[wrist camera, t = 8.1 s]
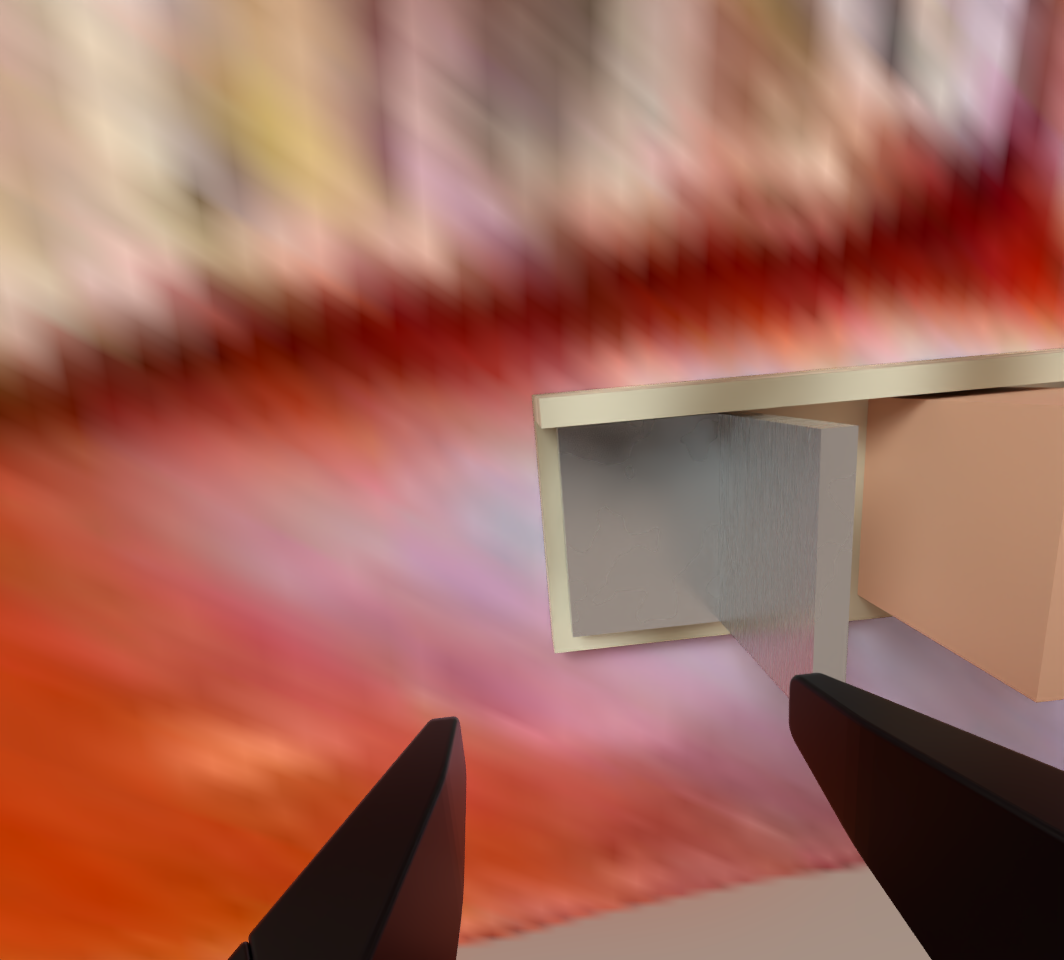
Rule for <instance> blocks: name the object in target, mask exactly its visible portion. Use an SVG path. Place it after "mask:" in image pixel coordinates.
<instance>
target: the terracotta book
mask: <svg viewBox="0 0 1064 960" xmlns="http://www.w3.org/2000/svg"><path fill="white" fill-rule="evenodd" d="M857 595H859V596H861V597H862V598H864V599H865V600H867V601H869V602H870V603H872V604H874V605H875V606H877V607H879V608H880V609H882V610H884V611H885V612H887V613H889V614H890V615H892V616H894V617H895V618H897V619H899V620H900V621H902V622H904V623H905V624H907V625H909V626H910V627H912V628H914V629H915V630H917V631H919V632H920V633H922V634H923V635H925V636H927V637H928V638H930V639H932V640H933V641H935V642H937V643H938V644H940V645H942V646H943V647H945V648H947V649H948V650H950V651H952V652H953V653H955V654H957V655H958V656H960V657H962V658H963V659H965V660H967V661H968V662H970V663H972V664H973V665H975V666H976V667H978V668H980V669H981V670H983V671H985V672H986V673H988V674H990V675H991V676H993V677H995V678H996V679H998V680H1000V681H1001V682H1003V683H1005V684H1006V685H1008V686H1010V687H1011V688H1013V689H1015V690H1016V691H1018V692H1020V693H1021V694H1023V695H1025V696H1026V697H1028V698H1029V699H1031V700H1033V701H1034V702H1044V701H1053V700H1062V699H1064V388H1045V387H994V388H983V389H972V390H961V391H950V392H939V393H928V394H917V395H906V396H895V397H884V398H873V399H868V416H867V434H866V451H865V469H864V487H863V504H862V522H861V540H860V557H859V575H858V593H857Z"/></svg>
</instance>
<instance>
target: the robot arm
mask: <svg viewBox="0 0 1064 960" xmlns="http://www.w3.org/2000/svg"><path fill="white" fill-rule="evenodd" d="M789 727H790V731H791V734H792V737H793V739H794V741H795V743H796V745H797V747H798V748H799V750H800V752H801V754H802V755H803V757H804V759H805V761H806V762H807V764H808V766H809V768H810V769H811V771H812V773H813V775H814V777H815V778H816V780H817V782H818V784H819V785H820V787H821V789H822V791H823V792H824V794H825V796H826V798H827V800H828V801H829V803H830V805H831V807H832V808H833V810H834V812H835V814H836V815H837V817H838V819H839V821H840V823H841V824H842V826H843V828H844V829H845V831H846V833H847V834H848V836H849V838H850V839H851V841H852V843H853V844H854V846H855V848H856V849H857V851H858V852H859V854H860V855H861V857H862V858H863V860H864V861H865V863H866V864H867V866H868V867H869V869H870V870H871V872H872V873H873V875H874V876H875V877H876V879H877V880H878V882H879V883H880V885H881V886H882V888H883V889H884V891H885V892H886V894H887V895H888V896H889V898H890V899H891V901H892V902H893V904H894V905H895V907H896V908H897V910H898V911H899V912H900V914H901V915H902V917H903V918H904V920H905V921H906V923H907V924H908V926H909V927H910V929H911V930H912V932H913V933H914V935H915V936H916V937H917V939H918V940H919V942H920V943H921V945H922V946H923V947H924V949H925V951H926V952H927V953H928V955H929V956H930V958H931V959H932V960H1064V771H1062V770H1060V769H1057V768H1055V767H1053V766H1050V765H1048V764H1045V763H1043V762H1040V761H1038V760H1035V759H1033V758H1030V757H1028V756H1025V755H1023V754H1020V753H1018V752H1015V751H1013V750H1010V749H1008V748H1005V747H1003V746H1001V745H998V744H996V743H993V742H991V741H988V740H986V739H983V738H981V737H978V736H976V735H973V734H971V733H968V732H966V731H963V730H961V729H958V728H956V727H954V726H951V725H949V724H946V723H944V722H941V721H939V720H936V719H934V718H931V717H929V716H926V715H924V714H921V713H919V712H916V711H914V710H911V709H909V708H907V707H904V706H902V705H899V704H897V703H894V702H892V701H889V700H887V699H884V698H882V697H879V696H877V695H874V694H872V693H869V692H867V691H864V690H862V689H860V688H857V687H855V686H852V685H850V684H847V683H845V682H842V681H840V680H837V679H835V678H832V677H830V676H827V675H825V674H822V673H808V674H800V675H795V676H794V677H792V678H791V681H790V686H789ZM465 816H466V765H465V757H464V750H463V742H462V735H461V727H460V722H459V720H458V718H457V717H454V716H453V717H445V718H436V719H432V720H430V721H429V722H428V723H427V724H426V725H425V726H424V728H423V729H422V730H421V731H420V732H419V734H418V735H417V736H416V737H415V738H414V740H413V741H412V742H411V743H410V744H409V745H408V747H407V748H406V749H405V750H404V751H403V753H402V754H401V755H400V756H399V757H398V759H397V760H396V761H395V762H394V763H393V764H392V766H391V767H390V768H389V769H388V770H387V772H386V773H385V774H384V775H383V776H382V777H381V779H380V780H379V781H378V782H377V783H376V785H375V786H374V787H373V788H372V789H371V791H370V792H369V793H368V794H367V795H366V796H365V798H364V799H363V800H362V801H361V802H360V804H359V805H358V806H357V807H356V808H355V810H354V811H353V812H352V813H351V814H350V815H349V817H348V818H347V819H346V820H345V821H344V823H343V824H342V825H341V826H340V827H339V829H338V830H337V831H336V832H335V833H334V834H333V836H332V837H331V838H330V839H329V840H328V842H327V843H326V844H325V845H324V846H323V847H322V849H321V850H320V851H319V852H318V853H317V855H316V856H315V857H314V858H313V859H312V861H311V862H310V863H309V864H308V865H307V866H306V868H305V869H304V870H303V871H302V872H301V874H300V875H299V876H298V877H297V878H296V880H295V881H294V882H293V883H292V884H291V885H290V887H289V888H288V889H287V890H286V891H285V893H284V894H283V895H282V896H281V897H280V899H279V900H278V901H277V902H276V903H275V904H274V906H273V907H272V908H271V909H270V910H269V912H268V913H267V914H266V915H265V916H264V917H263V919H262V920H261V921H260V922H259V923H258V925H257V926H256V927H255V928H254V929H253V931H252V932H251V933H250V935H249V938H248V939H249V943H248V942H243V943H241V944H240V946H239V947H238V948H237V949H236V950H235V951H234V953H233V954H232V955H231V956H230V957H229V959H228V960H456V956H457V948H458V940H459V932H460V924H461V914H462V904H463V889H464V859H465Z"/></svg>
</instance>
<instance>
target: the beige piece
mask: <svg viewBox="0 0 1064 960" xmlns="http://www.w3.org/2000/svg"><path fill="white" fill-rule="evenodd" d="M994 387H1045V388H1064V348H1059V349H1048V350H1036V351H1025V352H1014V353H1002V354H991V355H980V356H968V357H957V358H946V359H934V360H923V361H911V362H900V363H889V364H877V365H866V366H855V367H843V368H832V369H821V370H809V371H798V372H787V373H775V374H764V375H753V376H741V377H730V378H719V379H707V380H696V381H684V382H673V383H662V384H650V385H639V386H628V387H616V388H605V389H594V390H582V391H571V392H560V393H548V394H537V395H532V404H533V416H534V428H535V439H536V451H537V463H538V475H539V487H540V499H541V511H542V523H543V535H544V547H545V559H546V571H547V583H548V595H549V606H550V618H551V630H552V640H553V646H554V651H555V653H562V652H571V651H580V650H589V649H599V648H608V647H617V646H626V645H635V644H644V643H653V642H663V641H672V640H681V639H690V638H699V637H708V636H718V635H727V634H731V633H730V632H729V631H728V630H727V629H726V628H725V627H724V625H723V624H722V623H721V622H720V621H719V622H710V623H701V624H691V625H682V626H673V627H664V628H654V629H645V630H636V631H627V632H617V633H608V634H599V635H590V636H580V637H573V635H572V632H571V623H570V610H569V596H568V583H567V570H566V556H565V543H564V529H563V516H562V503H561V489H560V476H559V463H558V449H557V436H556V427H565V426H576V425H587V424H598V423H609V422H620V421H631V420H642V419H653V418H664V417H675V416H686V415H697V414H708V413H719V412H730V411H747V412H754V413H762V414H770V415H778V416H786V417H794V418H802V419H810V420H818V421H826V422H834V423H842V424H850V425H858V426H859V428H858V447H857V467H856V487H855V506H854V526H853V546H852V565H851V585H850V605H849V621H855V620H864V619H873V618H883V617H892V615H890V614H889V613H887V612H885V611H884V610H882V609H880V608H879V607H877V606H875V605H874V604H872V603H870V602H869V601H867V600H865V599H864V598H862V597H861V596H859V595H857V593H858V575H859V557H860V540H861V522H862V504H863V487H864V469H865V451H866V434H867V416H868V399H873V398H884V397H895V396H906V395H917V394H928V393H939V392H950V391H961V390H972V389H983V388H994Z"/></svg>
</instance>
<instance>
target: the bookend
mask: <svg viewBox="0 0 1064 960" xmlns="http://www.w3.org/2000/svg"><path fill="white" fill-rule="evenodd" d="M858 428H859V426H858V425H850V424H842V423H834V422H826V421H818V420H810V419H802V418H794V417H786V416H778V415H770V414H762V413H754V412H747V411H730V412H719V413H708V414H697V415H686V416H675V417H664V418H653V419H642V420H631V421H620V422H609V423H598V424H587V425H576V426H565V427H556V436H557V449H558V463H559V476H560V489H561V503H562V516H563V529H564V543H565V556H566V570H567V583H568V596H569V610H570V623H571V632H572V635H573V637H580V636H590V635H599V634H608V633H617V632H627V631H636V630H645V629H654V628H664V627H673V626H682V625H691V624H701V623H710V622H719V621H720V622H721V623H722V624H723V625H724V627H725V628H726V629H727V630H728V631H729V632H730V633H731V634H732V635H733V637H734V638H735V639H736V640H737V641H738V642H739V643H740V644H741V645H742V647H743V648H744V649H745V650H746V651H747V652H748V653H749V654H750V655H751V657H752V658H753V659H754V660H755V661H756V662H757V663H758V664H759V665H760V667H761V668H762V669H763V670H764V671H765V672H766V673H767V674H768V675H769V677H770V678H771V679H772V680H773V681H774V682H775V683H776V684H777V685H778V687H779V688H780V689H781V690H782V691H783V692H784V693H785V694H786V695H787V697H788V698H789V686H790V681H791V678H792V677H794V676H795V675H800V674H808V673H822V674H825V675H827V676H830V677H832V678H835V679H837V680H840V681H842V682H845V683H846V664H847V644H848V624H849V605H850V585H851V565H852V546H853V526H854V506H855V487H856V467H857V447H858Z"/></svg>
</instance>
